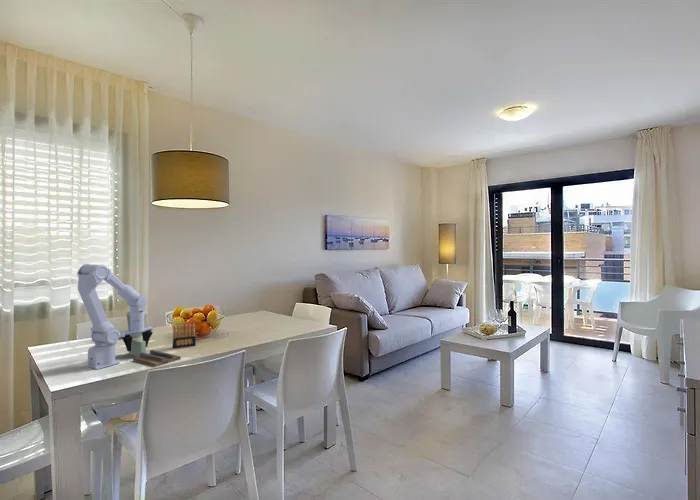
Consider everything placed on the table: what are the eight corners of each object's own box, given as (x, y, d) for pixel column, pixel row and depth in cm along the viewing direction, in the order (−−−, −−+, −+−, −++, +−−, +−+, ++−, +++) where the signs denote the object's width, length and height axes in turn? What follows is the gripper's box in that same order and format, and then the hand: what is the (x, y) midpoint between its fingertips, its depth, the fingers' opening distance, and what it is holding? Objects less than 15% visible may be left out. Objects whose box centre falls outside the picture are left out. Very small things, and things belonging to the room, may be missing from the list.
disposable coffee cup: (124, 336, 205) (124, 309, 204) (145, 333, 212) (146, 307, 211) (127, 340, 197) (127, 312, 196) (149, 336, 203) (150, 310, 203)
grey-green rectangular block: (141, 357, 168) (141, 342, 167) (128, 354, 172) (128, 339, 172) (145, 356, 169) (145, 341, 169) (132, 352, 174) (133, 338, 174)
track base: (155, 366, 155) (155, 360, 155) (133, 360, 162) (133, 354, 162) (180, 359, 165) (180, 353, 165) (158, 353, 173) (158, 348, 173)
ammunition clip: (172, 348, 182) (172, 324, 181) (172, 347, 183) (172, 324, 183) (195, 345, 187) (195, 322, 187) (195, 345, 189) (195, 322, 188)
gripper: (146, 316, 179) (146, 344, 179) (116, 322, 166) (116, 351, 166) (155, 318, 175) (155, 346, 176) (125, 323, 163) (125, 353, 163)
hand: (137, 348), depth 171 cm, fingers open, 7 cm apart
